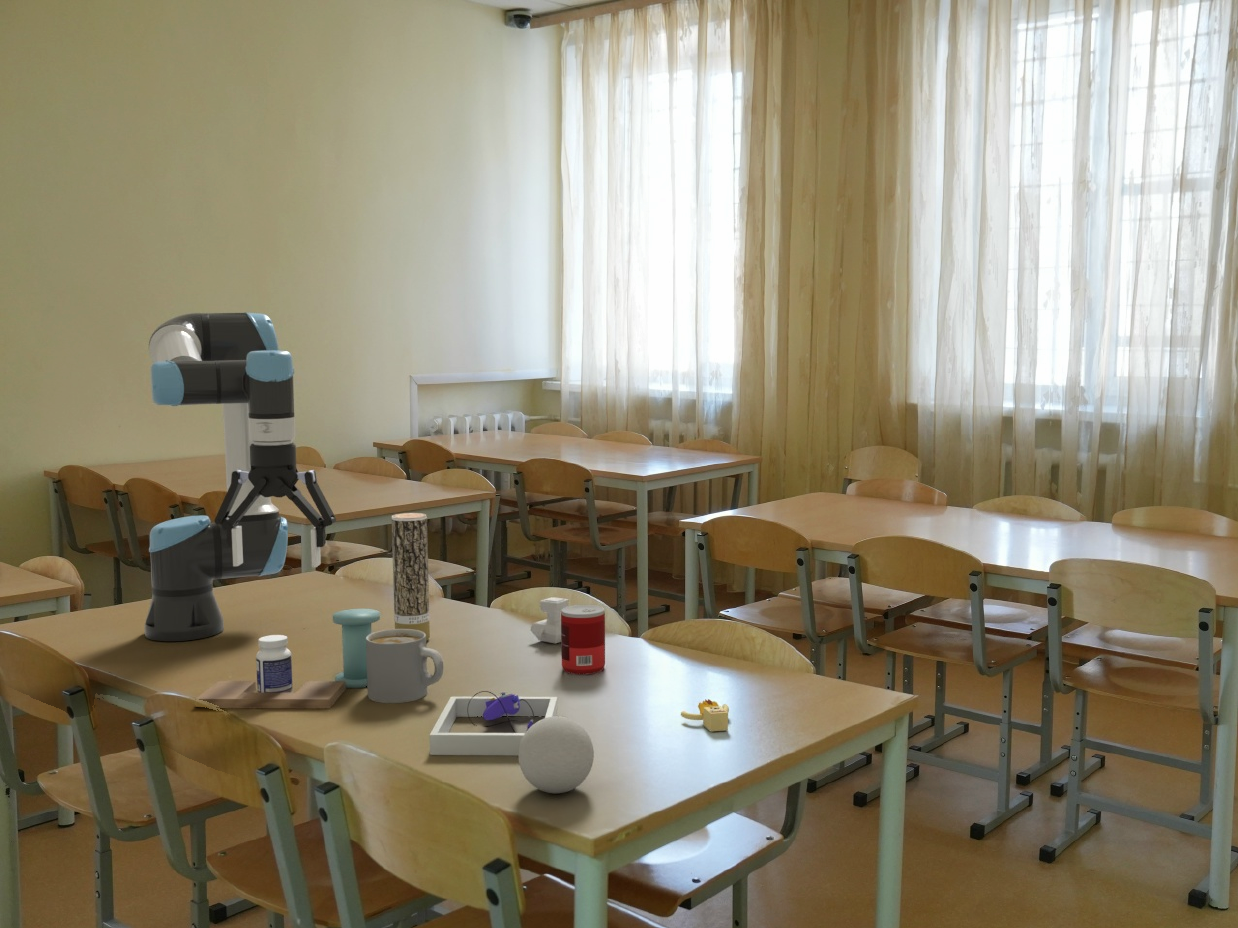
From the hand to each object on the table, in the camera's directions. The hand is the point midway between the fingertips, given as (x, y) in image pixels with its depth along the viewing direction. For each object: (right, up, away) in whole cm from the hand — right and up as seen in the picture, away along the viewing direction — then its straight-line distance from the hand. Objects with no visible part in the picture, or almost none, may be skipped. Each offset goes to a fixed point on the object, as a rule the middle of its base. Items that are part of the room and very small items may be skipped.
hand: (277, 565), depth 205 cm
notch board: (+1, -22, -5) cm, 22 cm away
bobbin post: (+13, -21, +4) cm, 25 cm away
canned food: (+52, -20, +11) cm, 57 cm away
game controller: (+42, -24, -20) cm, 52 cm away
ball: (+50, -26, -46) cm, 73 cm away
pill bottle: (+1, -22, -3) cm, 22 cm away
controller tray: (+40, -24, -23) cm, 52 cm away
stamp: (+46, -18, +30) cm, 58 cm away
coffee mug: (+23, -22, -4) cm, 32 cm away
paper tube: (+18, -18, +31) cm, 40 cm away
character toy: (+74, -24, -18) cm, 80 cm away
